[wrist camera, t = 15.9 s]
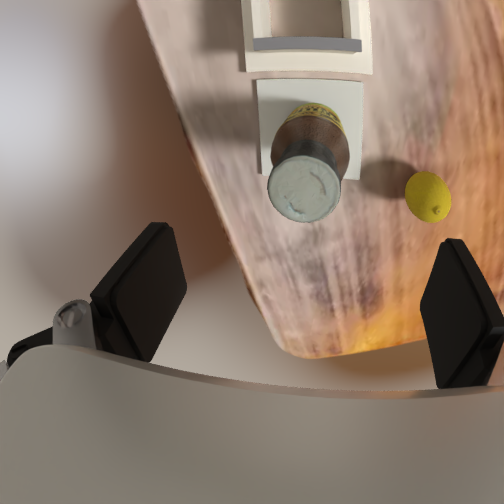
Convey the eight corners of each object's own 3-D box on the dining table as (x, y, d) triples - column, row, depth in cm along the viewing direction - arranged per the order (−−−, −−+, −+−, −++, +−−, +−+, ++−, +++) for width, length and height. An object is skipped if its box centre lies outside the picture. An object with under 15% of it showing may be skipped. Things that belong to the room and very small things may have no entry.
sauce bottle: (339, 101, 29) (372, 135, 13) (341, 152, 32) (366, 243, 16) (283, 101, 30) (245, 136, 14) (287, 153, 34) (257, 241, 18)
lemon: (431, 158, 30) (456, 181, 24) (439, 196, 33) (463, 226, 26) (393, 170, 33) (410, 196, 26) (403, 208, 35) (420, 240, 29)
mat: (362, 82, 28) (363, 82, 27) (358, 178, 34) (359, 179, 34) (257, 79, 30) (256, 79, 29) (263, 174, 37) (262, 175, 36)
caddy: (363, -30, 19) (374, -53, 13) (370, 74, 27) (386, 75, 21) (240, -30, 22) (221, -51, 16) (248, 72, 30) (231, 72, 23)
